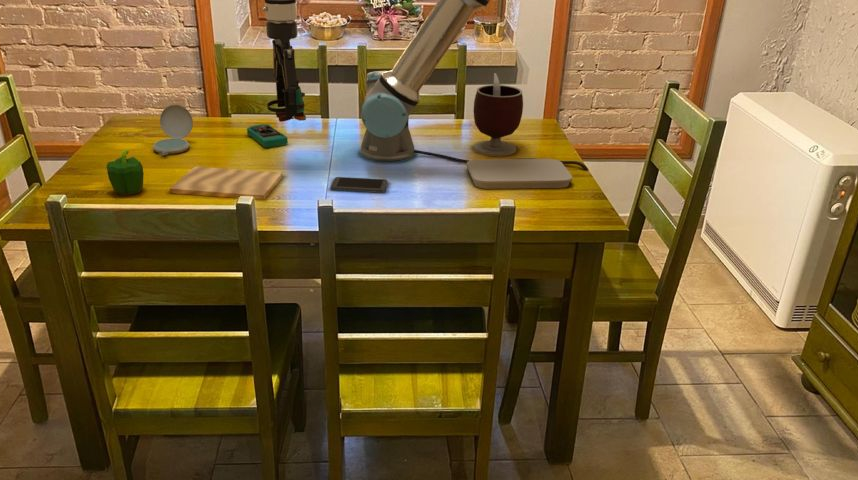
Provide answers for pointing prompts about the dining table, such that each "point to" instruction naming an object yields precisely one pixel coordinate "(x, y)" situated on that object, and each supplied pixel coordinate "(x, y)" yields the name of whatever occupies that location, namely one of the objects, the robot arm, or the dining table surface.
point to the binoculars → (281, 111)
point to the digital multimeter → (267, 135)
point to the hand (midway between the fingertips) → (287, 111)
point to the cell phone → (359, 184)
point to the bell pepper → (126, 174)
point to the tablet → (518, 173)
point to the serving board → (227, 182)
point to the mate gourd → (497, 116)
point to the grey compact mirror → (174, 130)
